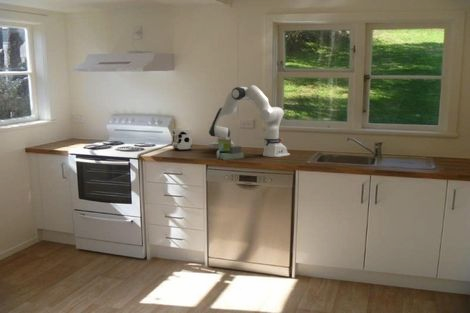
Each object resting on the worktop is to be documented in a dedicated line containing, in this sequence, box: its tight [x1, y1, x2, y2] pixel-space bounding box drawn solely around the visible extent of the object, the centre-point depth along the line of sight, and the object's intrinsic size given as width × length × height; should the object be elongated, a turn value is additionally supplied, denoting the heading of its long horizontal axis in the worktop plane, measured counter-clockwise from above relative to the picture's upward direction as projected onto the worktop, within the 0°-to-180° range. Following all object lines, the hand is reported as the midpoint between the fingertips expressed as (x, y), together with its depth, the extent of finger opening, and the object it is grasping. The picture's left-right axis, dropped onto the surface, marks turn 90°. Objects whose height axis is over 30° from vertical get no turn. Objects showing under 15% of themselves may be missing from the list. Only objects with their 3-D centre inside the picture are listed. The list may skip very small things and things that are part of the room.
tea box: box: [217, 136, 232, 158], centre depth 367 cm, size 15×10×15 cm, turn 3°
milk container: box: [172, 127, 193, 151], centre depth 396 cm, size 17×17×18 cm
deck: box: [216, 145, 245, 161], centre depth 357 cm, size 20×9×9 cm, turn 119°
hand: (222, 146), depth 374 cm, fingers closed, pressing on tea box
